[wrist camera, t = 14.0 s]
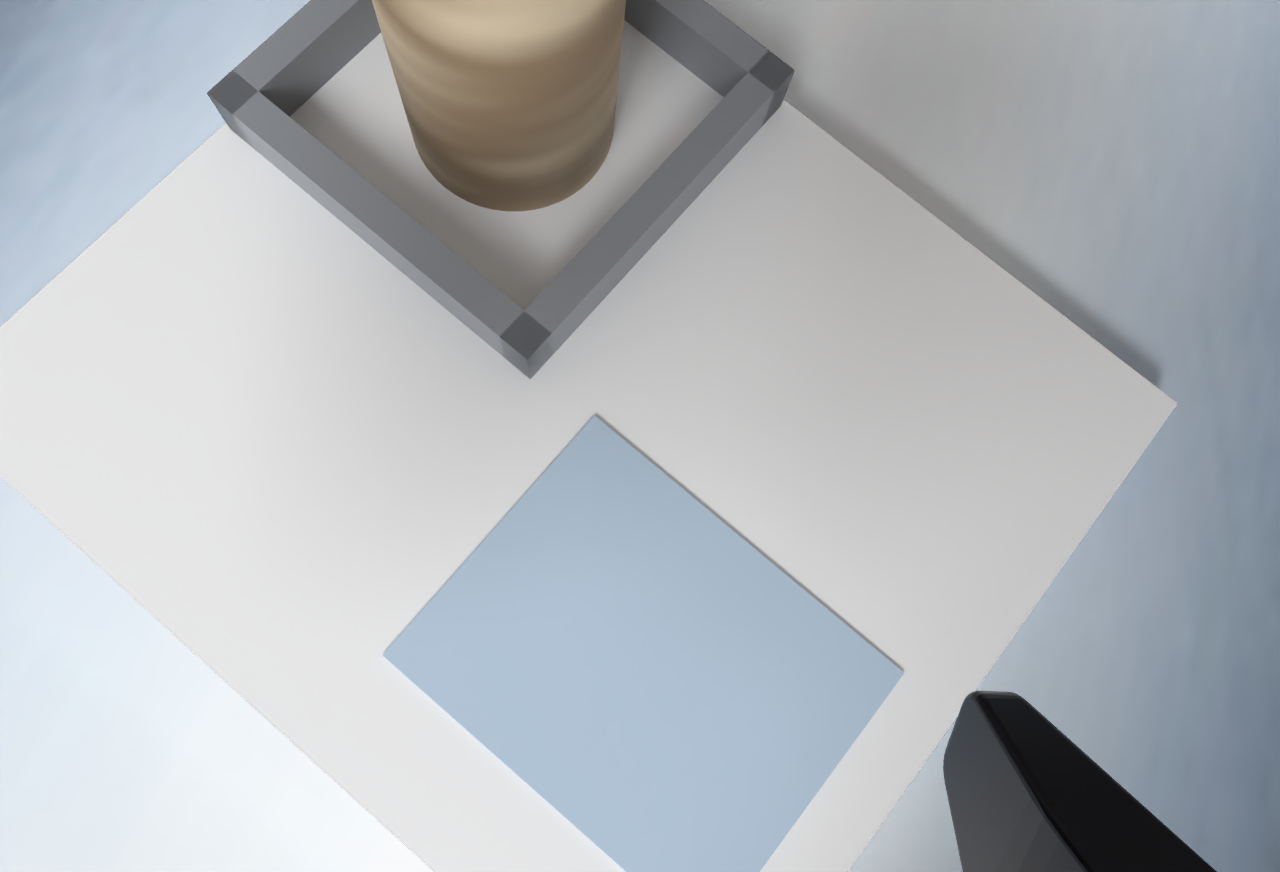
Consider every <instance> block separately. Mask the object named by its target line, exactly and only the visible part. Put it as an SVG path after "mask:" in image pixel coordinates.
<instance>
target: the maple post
mask: <svg viewBox="0 0 1280 872" xmlns="http://www.w3.org/2000/svg"><path fill="white" fill-rule="evenodd" d="M372 3H373V6H374V10H375V13H376V16H377V20H378V23H379V26H380V30H381V33H382V36H383V40H384V43H385V46H386V50H387V53H388V56H389V60H390V63H391V66H392V70H393V73H394V76H395V80H396V83H397V86H398V90H399V93H400V96H401V100H402V103H403V106H404V110H405V113H406V116H407V120H408V123H409V126H410V130H411V133H412V136H413V140H414V143H415V146H416V149H417V151H418V153H419V156H420V158H421V160H422V161H423V163H424V164H425V166H426V168H427V169H428V170H429V172H430V173H431V174H432V175H433V176H434V178H435V179H436V180H437V181H438V182H439V183H441V184H442V185H443V186H444V187H445V188H446V189H448V190H449V191H450V192H452V193H453V194H455V195H456V196H458V197H460V198H462V199H464V200H466V201H467V202H470V203H473V204H475V205H478V206H480V207H484V208H488V209H492V210H500V211H529V210H536V209H540V208H544V207H548V206H550V205H553V204H556V203H558V202H561V201H562V200H564V199H566V198H568V197H570V196H572V195H573V194H574V193H576V192H577V191H579V190H580V189H582V188H583V187H584V186H585V185H586V184H587V183H588V182H589V181H590V180H591V179H592V178H593V177H594V175H595V174H596V173H597V172H598V170H599V169H600V167H601V166H602V164H603V162H604V161H605V159H606V156H607V154H608V152H609V149H610V146H611V142H612V138H613V131H614V122H615V111H616V100H617V90H618V79H619V69H620V58H621V47H622V37H623V26H624V15H625V5H626V0H372Z"/></svg>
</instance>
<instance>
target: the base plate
mask: <svg viewBox="0 0 1280 872" xmlns="http://www.w3.org/2000/svg"><path fill="white" fill-rule="evenodd" d="M793 73H794V70H793V69H792V68H791V67H790V66H788V65H787V64H786V63H784V62H783V61H782V60H780V59H779V58H778V57H776V56H775V55H774V54H773V53H771V52H770V51H769V50H767V49H766V48H765V47H763V46H762V45H761V44H760V43H758V42H757V41H756V40H754V39H753V38H752V37H750V36H749V35H748V34H747V33H745V32H744V31H743V30H741V29H740V28H739V27H737V26H736V25H735V24H733V23H732V22H731V21H730V20H728V19H727V18H726V17H724V16H723V15H722V14H720V13H719V12H718V11H717V10H715V9H714V8H713V7H711V6H710V5H709V4H707V3H706V2H705V1H704V0H626V5H625V15H624V26H623V37H622V47H621V58H620V69H619V79H618V90H617V100H616V111H615V122H614V131H613V138H612V142H611V146H610V149H609V152H608V154H607V156H606V159H605V161H604V162H603V164H602V166H601V167H600V169H599V170H598V172H597V173H596V174H595V175H594V177H593V178H592V179H591V180H590V181H589V182H588V183H587V184H586V185H585V186H584V187H583V188H582V189H580V190H579V191H577V192H576V193H574V194H573V195H572V196H570V197H568V198H566V199H564V200H562V201H561V202H558V203H556V204H553V205H550V206H548V207H544V208H540V209H536V210H529V211H500V210H492V209H488V208H484V207H480V206H478V205H475V204H473V203H470V202H467V201H466V200H464V199H462V198H460V197H458V196H456V195H455V194H453V193H452V192H450V191H449V190H448V189H446V188H445V187H444V186H443V185H442V184H441V183H439V182H438V181H437V180H436V179H435V178H434V176H433V175H432V174H431V173H430V172H429V170H428V169H427V168H426V166H425V164H424V163H423V161H422V160H421V158H420V156H419V153H418V151H417V149H416V146H415V143H414V140H413V136H412V133H411V130H410V126H409V123H408V120H407V116H406V113H405V110H404V106H403V103H402V100H401V96H400V93H399V90H398V86H397V83H396V80H395V76H394V73H393V70H392V66H391V63H390V60H389V56H388V53H387V50H386V46H385V43H384V40H383V36H382V33H381V30H380V26H379V23H378V20H377V16H376V13H375V10H374V6H373V3H372V0H311V1H310V2H308V3H307V4H306V5H305V6H304V7H303V8H302V9H301V10H299V11H298V12H297V13H296V14H295V15H294V16H293V17H292V18H290V19H289V20H288V21H287V22H286V23H285V24H284V25H283V26H282V27H280V28H279V29H278V30H277V31H276V32H275V33H274V34H273V35H271V36H270V37H269V38H268V39H267V40H266V41H265V42H264V43H262V44H261V45H260V46H259V47H258V48H257V49H256V50H255V51H253V52H252V53H251V54H250V55H249V56H248V57H247V58H246V59H244V60H243V61H242V62H241V63H240V64H239V65H238V66H237V67H235V68H234V69H233V70H232V71H231V72H230V73H229V74H228V75H227V76H225V77H224V78H223V79H222V80H221V81H220V82H219V83H218V84H216V85H215V86H214V87H213V88H212V89H211V90H210V91H209V92H207V94H208V96H209V97H210V99H211V100H212V102H213V103H214V105H215V106H216V108H217V109H218V111H219V113H220V114H221V116H222V117H223V119H224V120H225V122H226V123H225V124H224V125H223V126H222V127H221V128H219V129H218V130H217V131H216V132H215V133H214V134H213V135H212V136H211V137H210V138H208V139H207V140H206V141H205V142H204V143H203V144H202V145H201V146H200V147H198V148H197V149H196V150H195V151H194V152H193V153H192V154H191V155H190V156H189V157H187V158H186V159H185V160H184V161H183V162H182V163H181V164H180V165H179V166H177V167H176V168H175V169H174V170H173V171H172V172H171V173H170V174H169V175H168V176H166V177H165V178H164V179H163V180H162V181H161V182H160V183H159V184H158V185H157V186H155V187H154V188H153V189H152V190H151V191H150V192H149V193H148V194H147V195H145V196H144V197H143V198H142V199H141V200H140V201H139V202H138V203H137V204H136V205H134V206H133V207H132V208H131V209H130V210H129V211H128V212H127V213H126V214H124V215H123V216H122V217H121V218H120V219H119V220H118V221H117V222H116V223H115V224H113V225H112V226H111V227H110V228H109V229H108V230H107V231H106V232H105V233H104V234H102V235H101V236H100V237H99V238H98V239H97V240H96V241H95V242H94V243H92V244H91V245H90V246H89V247H88V248H87V249H86V250H85V251H84V252H83V253H81V254H80V255H79V256H78V257H77V258H76V259H75V260H74V261H73V262H72V263H70V264H69V265H68V266H67V267H66V268H65V269H64V270H63V271H62V272H60V273H59V274H58V275H57V276H56V277H55V278H54V279H53V280H52V281H51V282H49V283H48V284H47V285H46V286H45V287H44V288H43V289H42V290H41V291H39V292H38V293H37V294H36V295H35V296H34V297H33V298H32V299H31V300H30V301H28V302H27V303H26V304H25V305H24V306H23V307H22V308H21V309H20V310H19V311H17V312H16V313H15V314H14V315H13V316H12V317H11V318H10V319H9V320H7V321H6V322H5V323H4V324H3V325H2V326H1V327H0V477H1V478H2V479H3V480H4V481H5V482H6V483H7V484H9V485H10V486H11V487H12V488H13V489H14V490H15V491H16V492H17V493H18V494H20V495H21V496H22V497H23V498H24V499H25V500H26V501H27V502H28V503H29V504H31V505H32V506H33V507H34V508H35V509H36V510H37V511H38V512H39V513H40V514H42V515H43V516H44V517H45V518H46V519H47V520H48V521H49V522H50V523H51V524H53V525H54V526H55V527H56V528H57V529H58V530H59V531H60V532H61V533H62V534H64V535H65V536H66V537H67V538H68V539H69V540H70V541H71V542H72V543H73V544H74V545H76V546H77V547H78V548H79V549H80V550H81V551H82V552H83V553H84V554H85V555H87V556H88V557H89V558H90V559H91V560H92V561H93V562H94V563H95V564H96V565H98V566H99V567H100V568H101V569H102V570H103V571H104V572H105V573H106V574H107V575H109V576H110V577H111V578H112V579H113V580H114V581H115V582H116V583H117V584H118V585H120V586H121V587H122V588H123V589H124V590H125V591H126V592H127V593H128V594H129V595H131V596H132V597H133V598H134V599H135V600H136V601H137V602H138V603H139V604H140V605H142V606H143V607H144V608H145V609H146V610H147V611H148V612H149V613H150V614H151V615H152V616H154V617H155V618H156V619H157V620H158V621H159V622H160V623H161V624H162V625H163V626H165V627H166V628H167V629H168V630H169V631H170V632H171V633H172V634H173V635H174V636H176V637H177V638H178V639H179V640H180V641H181V642H182V643H183V644H184V645H185V646H187V647H188V648H189V649H190V650H191V651H192V652H193V653H194V654H195V655H196V656H198V657H199V658H200V659H201V660H202V661H203V662H204V663H205V664H206V665H207V666H209V667H210V668H211V669H212V670H213V671H214V672H215V673H216V674H217V675H218V676H220V677H221V678H222V679H223V680H224V681H225V682H226V683H227V684H228V685H229V686H231V687H232V688H233V689H234V690H235V691H236V692H237V693H238V694H239V695H240V696H241V697H243V698H244V699H245V700H246V701H247V702H248V703H249V704H250V705H251V706H252V707H254V708H255V709H256V710H257V711H258V712H259V713H260V714H261V715H262V716H263V717H265V718H266V719H267V720H268V721H269V722H270V723H271V724H272V725H273V726H274V727H276V728H277V729H278V730H279V731H280V732H281V733H282V734H283V735H284V736H285V737H287V738H288V739H289V740H290V741H291V742H292V743H293V744H294V745H295V746H296V747H298V748H299V749H300V750H301V751H302V752H303V753H304V754H305V755H306V756H307V757H309V758H310V759H311V760H312V761H313V762H314V763H315V764H316V765H317V766H318V767H320V768H321V769H322V770H323V771H324V772H325V773H326V774H327V775H328V776H329V777H330V778H332V779H333V780H334V781H335V782H336V783H337V784H338V785H339V786H340V787H341V788H343V789H344V790H345V791H346V792H347V793H348V794H349V795H350V796H351V797H352V798H354V799H355V800H356V801H357V802H358V803H359V804H360V805H361V806H362V807H363V808H365V809H366V810H367V811H368V812H369V813H370V814H371V815H372V816H373V817H374V818H376V819H377V820H378V821H379V822H380V823H381V824H382V825H383V826H384V827H385V828H387V829H388V830H389V831H390V832H391V833H392V834H393V835H394V836H395V837H396V838H398V839H399V840H400V841H401V842H402V843H403V844H404V845H405V846H406V847H407V848H408V849H410V850H411V851H412V852H413V853H414V854H415V855H416V856H417V857H418V858H419V859H421V860H422V861H423V862H424V863H425V864H426V865H427V866H428V867H429V868H430V869H432V870H433V871H434V872H848V871H849V870H850V869H851V867H852V866H853V864H854V863H855V861H856V860H857V859H858V857H859V856H860V854H861V853H862V852H863V850H864V849H865V847H866V846H867V844H868V843H869V842H870V840H871V839H872V837H873V836H874V834H875V833H876V832H877V830H878V829H879V827H880V826H881V825H882V823H883V822H884V820H885V819H886V817H887V816H888V815H889V813H890V812H891V810H892V809H893V807H894V806H895V805H896V803H897V802H898V800H899V799H900V798H901V796H902V795H903V793H904V792H905V790H906V789H907V788H908V786H909V785H910V783H911V782H912V780H913V779H914V778H915V776H916V775H917V773H918V772H919V771H920V769H921V768H922V766H923V765H924V763H925V762H926V761H927V759H928V758H929V756H930V755H931V753H932V752H933V751H934V749H935V748H936V746H937V745H938V744H939V742H940V741H941V739H942V738H943V736H944V735H945V734H946V732H947V731H948V729H949V728H950V727H951V725H952V724H953V722H954V721H955V719H956V718H957V717H958V714H959V712H960V709H961V706H962V703H963V701H964V699H965V697H966V696H967V695H968V694H970V693H971V692H974V691H976V690H977V688H978V687H979V685H980V684H981V682H982V681H983V680H984V678H985V677H986V675H987V674H988V673H989V671H990V670H991V668H992V667H993V665H994V664H995V663H996V661H997V660H998V658H999V657H1000V655H1001V654H1002V653H1003V651H1004V650H1005V648H1006V647H1007V646H1008V644H1009V643H1010V641H1011V640H1012V638H1013V637H1014V636H1015V634H1016V633H1017V631H1018V630H1019V628H1020V627H1021V626H1022V624H1023V623H1024V621H1025V620H1026V619H1027V617H1028V616H1029V614H1030V613H1031V611H1032V610H1033V609H1034V607H1035V606H1036V604H1037V603H1038V601H1039V600H1040V599H1041V597H1042V596H1043V594H1044V593H1045V592H1046V590H1047V589H1048V587H1049V586H1050V584H1051V583H1052V582H1053V580H1054V579H1055V577H1056V576H1057V574H1058V573H1059V572H1060V570H1061V569H1062V567H1063V566H1064V565H1065V563H1066V562H1067V560H1068V559H1069V557H1070V556H1071V555H1072V553H1073V552H1074V550H1075V549H1076V547H1077V546H1078V545H1079V543H1080V542H1081V540H1082V539H1083V538H1084V536H1085V535H1086V533H1087V532H1088V530H1089V529H1090V528H1091V526H1092V525H1093V523H1094V522H1095V520H1096V519H1097V518H1098V516H1099V515H1100V513H1101V512H1102V511H1103V509H1104V508H1105V506H1106V505H1107V503H1108V502H1109V501H1110V499H1111V498H1112V496H1113V495H1114V493H1115V492H1116V491H1117V489H1118V488H1119V486H1120V485H1121V484H1122V482H1123V481H1124V479H1125V478H1126V476H1127V475H1128V474H1129V472H1130V471H1131V469H1132V468H1133V466H1134V465H1135V464H1136V462H1137V461H1138V459H1139V458H1140V457H1141V455H1142V454H1143V452H1144V451H1145V449H1146V448H1147V447H1148V445H1149V444H1150V442H1151V441H1152V440H1153V438H1154V437H1155V435H1156V434H1157V432H1158V431H1159V430H1160V428H1161V427H1162V425H1163V424H1164V422H1165V421H1166V420H1167V418H1168V417H1169V415H1170V414H1171V413H1172V411H1173V410H1174V408H1175V407H1176V405H1177V404H1178V403H1176V402H1175V401H1174V400H1173V399H1171V398H1170V397H1169V396H1167V395H1166V394H1165V393H1163V392H1162V391H1161V390H1160V389H1158V388H1157V387H1156V386H1154V385H1153V384H1152V383H1151V382H1149V381H1148V380H1147V379H1145V378H1144V377H1143V376H1141V375H1140V374H1139V373H1138V372H1136V371H1135V370H1134V369H1132V368H1131V367H1130V366H1129V365H1127V364H1126V363H1125V362H1123V361H1122V360H1121V359H1119V358H1118V357H1117V356H1116V355H1114V354H1113V353H1112V352H1110V351H1109V350H1108V349H1107V348H1105V347H1104V346H1103V345H1101V344H1100V343H1099V342H1097V341H1096V340H1095V339H1094V338H1092V337H1091V336H1090V335H1088V334H1087V333H1086V332H1084V331H1083V330H1082V329H1081V328H1079V327H1078V326H1077V325H1075V324H1074V323H1073V322H1072V321H1070V320H1069V319H1068V318H1066V317H1065V316H1064V315H1062V314H1061V313H1060V312H1059V311H1057V310H1056V309H1055V308H1053V307H1052V306H1051V305H1050V304H1048V303H1047V302H1046V301H1044V300H1043V299H1042V298H1040V297H1039V296H1038V295H1037V294H1035V293H1034V292H1033V291H1031V290H1030V289H1029V288H1028V287H1026V286H1025V285H1024V284H1022V283H1021V282H1020V281H1018V280H1017V279H1016V278H1015V277H1013V276H1012V275H1011V274H1009V273H1008V272H1007V271H1006V270H1004V269H1003V268H1002V267H1000V266H999V265H998V264H996V263H995V262H994V261H993V260H991V259H990V258H989V257H987V256H986V255H985V254H983V253H982V252H981V251H980V250H978V249H977V248H976V247H974V246H973V245H972V244H971V243H969V242H968V241H967V240H965V239H964V238H963V237H961V236H960V235H959V234H958V233H956V232H955V231H954V230H952V229H951V228H950V227H949V226H947V225H946V224H945V223H943V222H942V221H941V220H939V219H938V218H937V217H936V216H934V215H933V214H932V213H930V212H929V211H928V210H927V209H925V208H924V207H923V206H921V205H920V204H919V203H917V202H916V201H915V200H914V199H912V198H911V197H910V196H908V195H907V194H906V193H904V192H903V191H902V190H901V189H899V188H898V187H897V186H895V185H894V184H893V183H892V182H890V181H889V180H888V179H886V178H885V177H884V176H882V175H881V174H880V173H879V172H877V171H876V170H875V169H873V168H872V167H871V166H870V165H868V164H867V163H866V162H864V161H863V160H862V159H860V158H859V157H858V156H857V155H855V154H854V153H853V152H851V151H850V150H849V149H848V148H846V147H845V146H844V145H842V144H841V143H840V142H838V141H837V140H836V139H835V138H833V137H832V136H831V135H829V134H828V133H827V132H825V131H824V130H823V129H822V128H820V127H819V126H818V125H816V124H815V123H814V122H813V121H811V120H810V119H809V118H807V117H806V116H805V115H803V114H802V113H801V112H800V111H798V110H797V109H796V108H794V107H793V106H792V105H791V104H789V103H788V102H787V101H785V100H784V97H785V94H786V91H787V89H788V86H789V83H790V81H791V78H792V76H793Z"/></svg>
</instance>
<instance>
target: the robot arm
mask: <svg viewBox="0 0 1280 872" xmlns="http://www.w3.org/2000/svg"><path fill="white" fill-rule="evenodd" d="M943 770H944V780H945V785H946V790H947V795H948V800H949V805H950V810H951V815H952V820H953V825H954V830H955V835H956V840H957V845H958V850H959V855H960V860H961V865H962V870H963V872H1216V871H1215V870H1214V869H1213V868H1212V867H1211V866H1210V865H1209V864H1207V863H1206V862H1205V861H1204V860H1203V859H1202V858H1201V857H1200V856H1199V855H1197V854H1196V853H1195V852H1194V851H1193V850H1192V849H1191V848H1190V847H1189V846H1187V845H1186V844H1185V843H1184V842H1183V841H1182V840H1181V839H1180V838H1179V837H1177V836H1176V835H1175V834H1174V833H1173V832H1172V831H1171V830H1170V829H1169V828H1167V827H1166V826H1165V825H1164V824H1163V823H1162V822H1161V821H1160V820H1159V819H1157V818H1156V817H1155V816H1154V815H1153V814H1152V813H1151V812H1150V811H1149V810H1147V809H1146V808H1145V807H1144V806H1143V805H1142V804H1141V803H1140V802H1139V801H1137V800H1136V799H1135V798H1134V797H1133V796H1132V795H1131V794H1130V793H1129V792H1127V791H1126V790H1125V789H1124V788H1123V787H1122V786H1121V785H1120V784H1119V783H1117V782H1116V781H1115V780H1114V779H1113V778H1112V777H1111V776H1110V775H1109V774H1107V773H1106V772H1105V771H1104V770H1103V769H1102V768H1101V767H1100V766H1099V765H1097V764H1096V763H1095V762H1094V761H1093V760H1092V759H1091V758H1090V757H1089V756H1087V755H1086V754H1085V753H1084V752H1083V751H1082V750H1081V749H1080V748H1079V747H1077V746H1076V745H1075V744H1074V743H1073V742H1072V741H1071V740H1070V739H1068V738H1067V737H1066V736H1065V735H1064V734H1063V733H1062V732H1061V731H1060V730H1058V729H1057V728H1056V727H1055V726H1054V725H1053V724H1052V723H1051V722H1050V721H1048V720H1047V719H1046V718H1045V717H1044V716H1043V715H1042V714H1041V713H1040V712H1038V711H1037V710H1036V709H1035V708H1034V707H1033V706H1032V705H1031V704H1030V703H1028V702H1027V701H1026V700H1025V699H1024V698H1022V697H1021V696H1019V695H1017V694H1015V693H1012V692H996V691H974V692H971V693H970V694H968V695H967V696H966V697H965V699H964V701H963V703H962V706H961V709H960V712H959V714H958V717H957V720H956V723H955V725H954V728H953V731H952V734H951V736H950V739H949V742H948V745H947V748H946V751H945V755H944V765H943Z"/></svg>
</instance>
